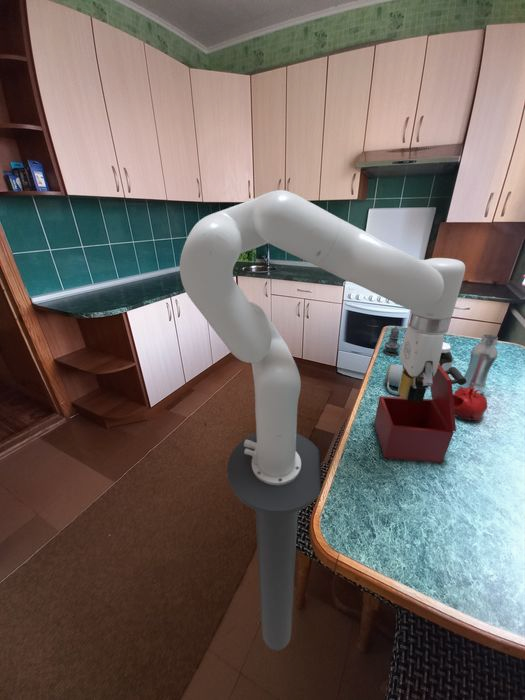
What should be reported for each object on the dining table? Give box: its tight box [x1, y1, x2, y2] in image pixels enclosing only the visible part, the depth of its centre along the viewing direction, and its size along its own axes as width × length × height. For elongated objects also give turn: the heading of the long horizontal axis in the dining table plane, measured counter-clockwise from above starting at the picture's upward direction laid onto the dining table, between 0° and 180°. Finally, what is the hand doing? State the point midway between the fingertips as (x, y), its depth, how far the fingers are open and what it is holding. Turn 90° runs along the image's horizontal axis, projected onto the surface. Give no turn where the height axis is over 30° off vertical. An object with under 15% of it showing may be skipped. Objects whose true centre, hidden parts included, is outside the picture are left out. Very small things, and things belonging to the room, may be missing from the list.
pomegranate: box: [453, 385, 488, 421], centre depth 85 cm, size 10×10×9 cm
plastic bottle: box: [459, 334, 499, 395], centre depth 91 cm, size 6×7×20 cm
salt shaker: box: [383, 326, 401, 357], centre depth 118 cm, size 6×6×12 cm
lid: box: [429, 364, 466, 432], centre depth 68 cm, size 14×13×5 cm
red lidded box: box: [373, 395, 454, 464], centre depth 75 cm, size 14×13×10 cm
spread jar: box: [439, 341, 454, 371], centre depth 105 cm, size 12×11×12 cm
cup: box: [397, 369, 424, 399], centre depth 67 cm, size 5×6×6 cm
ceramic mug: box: [384, 363, 403, 396], centre depth 97 cm, size 11×8×8 cm
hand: (410, 392), depth 68 cm, fingers closed on cup, 5 cm apart
